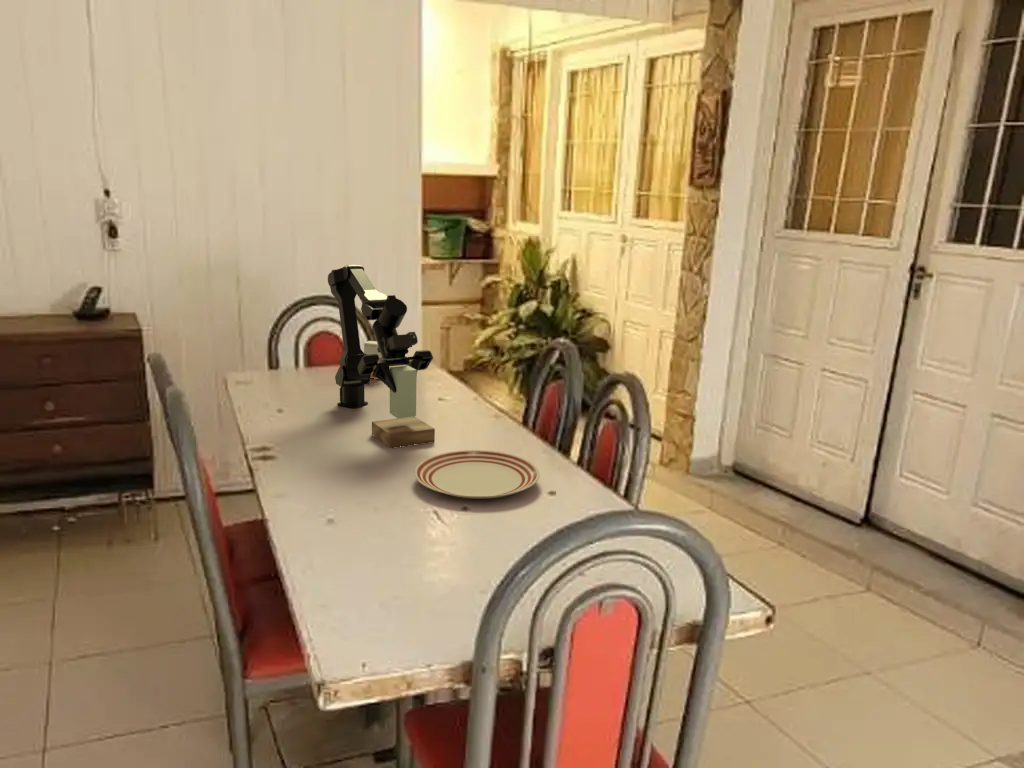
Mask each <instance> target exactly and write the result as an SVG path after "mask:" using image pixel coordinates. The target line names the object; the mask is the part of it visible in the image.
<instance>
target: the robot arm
mask: <svg viewBox="0 0 1024 768" xmlns="http://www.w3.org/2000/svg"><path fill="white" fill-rule="evenodd" d="M327 284H328V286H329V287H330V288H329V289H330V293H331V295H332V296H333V297H334V298H335V300H336V301H337V304H338V305H337V306H338V313H339V314H338V315H339V321H340V328H341V329H340V330H341V337H342V346H343V353H342V354H341V356H340V359H339V367H338V369H337V372H336V373H335V377H334V380H335V384H336V385H337V386H339V402H337V404H336V405H337V406H340V407H341V406H342V407H345V408H351V409H358V408H359V406H360V407H362V406H366V405H368V404H369V402H368V401H366V400H365V385H370V380H371V379H370V376H371V373H372V372H373V371H374V372H373V374H372V376H373V377H377V378H378V379H379V380H378V381H381V383H383V384H384V385H385V386H387V388H388V389H389V390H390V389H391V390H392V391H393V392H394V393H396V386H395V383H394V380H393V378H392V375H391V372H390V367H399V366H410V367H412V368H414V369H416V370H417V372H418V371H425V370H427V369H428V367H429V365H430V364H431V363H432V360H433V359H434V356H433V353H432V351H430V350H429V349H425V350H423V349H420V350H415V352H414V354H413V355H412V356H406V355H408V353H409V349H410V348H412V347H413V346H415V345H417V344H418V336H417V334H416V331H408V332H407V333H406V334H398V331H397V328H399V327H400V325H401V323H402V321H403V319H404V318H405V316H406V313H407V312H408V307H407V304H406V303H405V302H403V301H402V300H401V299H399V298H397V297H396V295H395V294H392V295H391V294H390V295H389V294H388V295H386V294H385V293H382V292H381V291H379V290H377V289H376V287H375V285H374V284H373V283H372V281H371V279H370V278H369V277H368V275H367V274H366V272H365V268H364V266H363V265H361V264H347V265H344V266H343V267H341V268H338V269H332V270H331V272H329V273H328V275H327ZM356 297H358V298H359V299H360V301H361V306H360V307H361V308H360V310H361V314H362V316H363V317H364V319H365V320H366V321H373V324H372V326H371V327H372V329H371V331H370V332H371V334H370V335H372V336H373V335H374V338H375V340H376V341H377V344H378V349H377V350H378V353H379V352H380V353H381V356H382V357H381V358H379V356H378V355H377V354H371V355H367V354H364V350H362V349H361V340H360V334H359V333H360V332H359V323H358V317H357V309H356V300H355V299H356ZM416 383H418V382H417V379H416Z"/></svg>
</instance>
